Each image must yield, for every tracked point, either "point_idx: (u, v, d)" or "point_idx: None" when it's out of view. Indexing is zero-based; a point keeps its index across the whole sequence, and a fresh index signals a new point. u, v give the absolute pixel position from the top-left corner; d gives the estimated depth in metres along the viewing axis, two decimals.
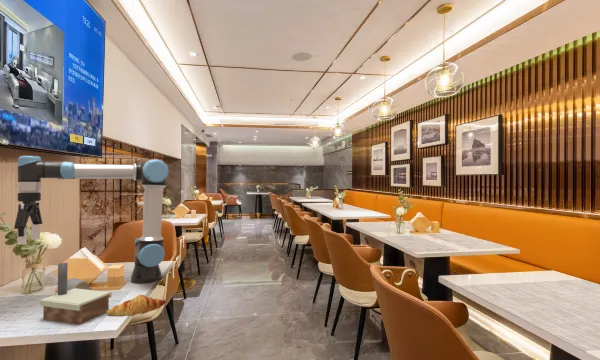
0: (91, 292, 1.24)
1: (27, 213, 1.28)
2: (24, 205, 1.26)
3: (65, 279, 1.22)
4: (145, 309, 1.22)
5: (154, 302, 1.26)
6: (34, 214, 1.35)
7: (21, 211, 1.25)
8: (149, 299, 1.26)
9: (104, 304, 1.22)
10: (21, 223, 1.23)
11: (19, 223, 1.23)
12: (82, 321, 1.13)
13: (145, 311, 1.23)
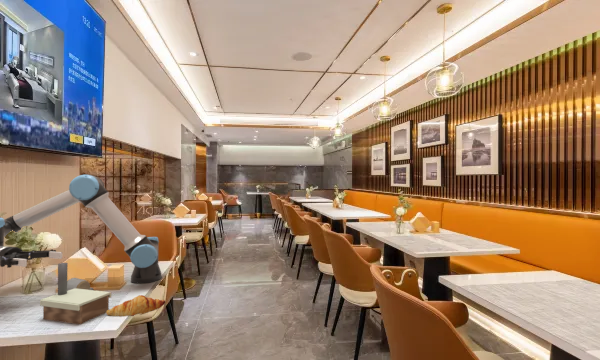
0: (91, 292, 1.24)
1: (10, 257, 1.24)
2: None
3: (65, 279, 1.22)
4: (144, 309, 1.22)
5: (154, 302, 1.25)
6: (33, 254, 1.31)
7: None
8: (149, 299, 1.25)
9: (104, 304, 1.22)
10: (0, 260, 1.18)
11: (0, 262, 1.18)
12: (82, 321, 1.13)
13: (145, 311, 1.22)
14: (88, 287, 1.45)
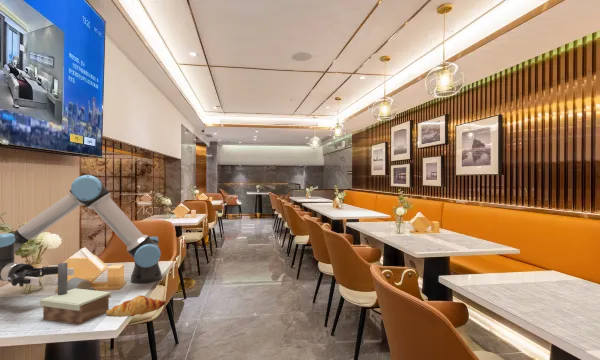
0: (91, 292, 1.24)
1: None
2: (8, 276, 1.20)
3: (65, 279, 1.22)
4: (144, 309, 1.22)
5: (153, 303, 1.25)
6: (44, 270, 1.29)
7: (10, 279, 1.19)
8: (149, 300, 1.25)
9: (104, 304, 1.22)
10: (12, 279, 1.16)
11: (12, 281, 1.16)
12: (82, 321, 1.13)
13: (144, 312, 1.22)
14: (89, 287, 1.45)
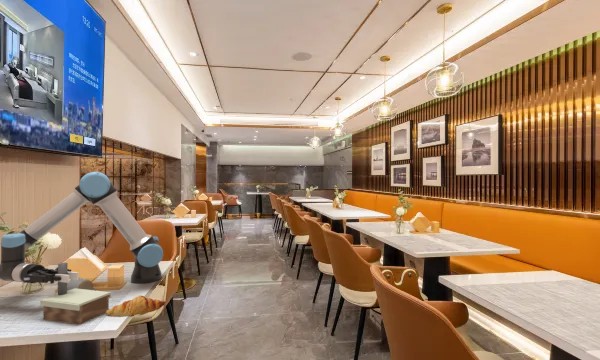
0: (91, 292, 1.24)
1: (41, 274, 1.22)
2: (25, 277, 1.19)
3: None
4: (144, 310, 1.21)
5: (153, 303, 1.25)
6: (52, 272, 1.26)
7: (31, 279, 1.19)
8: (148, 300, 1.25)
9: (104, 304, 1.22)
10: (42, 277, 1.18)
11: (42, 279, 1.18)
12: (82, 321, 1.13)
13: (144, 312, 1.22)
14: (90, 286, 1.46)
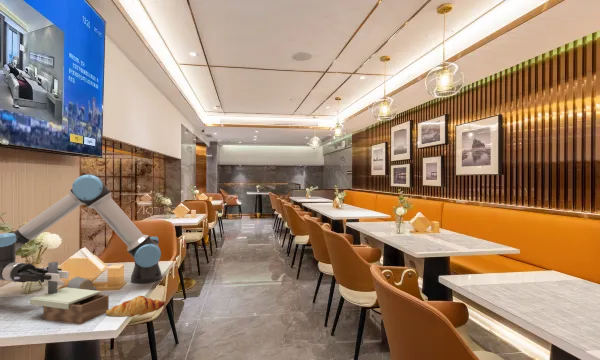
0: (81, 291, 1.25)
1: (31, 273, 1.24)
2: (15, 276, 1.20)
3: None
4: (143, 310, 1.21)
5: (153, 303, 1.24)
6: (42, 271, 1.27)
7: (21, 278, 1.20)
8: (148, 300, 1.24)
9: (104, 304, 1.22)
10: (33, 276, 1.20)
11: (33, 278, 1.20)
12: (82, 321, 1.13)
13: (143, 312, 1.21)
14: (91, 286, 1.46)
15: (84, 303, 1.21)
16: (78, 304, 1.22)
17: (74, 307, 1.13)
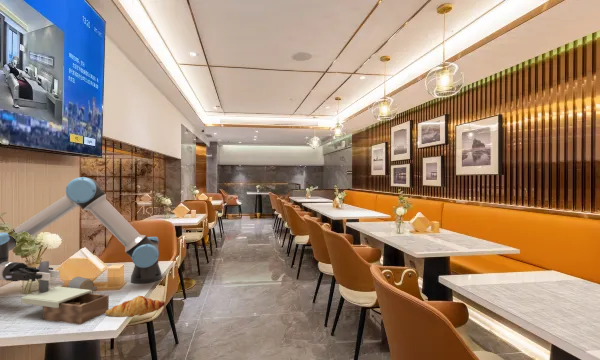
0: (72, 290, 1.27)
1: (23, 272, 1.25)
2: (6, 275, 1.22)
3: None
4: (143, 310, 1.21)
5: (153, 304, 1.24)
6: (34, 270, 1.28)
7: (13, 277, 1.22)
8: (148, 300, 1.24)
9: (104, 304, 1.22)
10: (24, 275, 1.21)
11: (24, 277, 1.21)
12: (82, 321, 1.13)
13: (143, 312, 1.21)
14: (92, 286, 1.47)
15: (84, 303, 1.21)
16: (78, 304, 1.22)
17: (74, 307, 1.13)
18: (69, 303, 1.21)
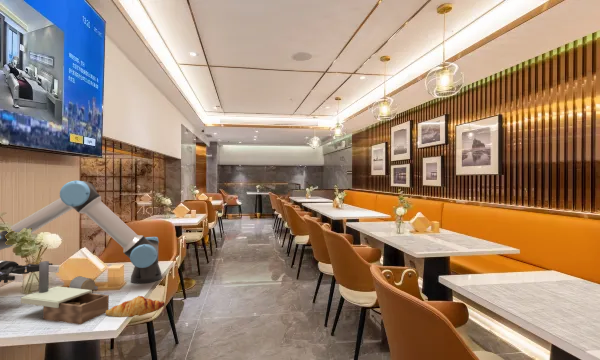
0: (72, 290, 1.27)
1: (7, 272, 1.24)
2: None
3: (46, 277, 1.25)
4: (142, 310, 1.21)
5: (152, 304, 1.24)
6: (29, 267, 1.31)
7: None
8: (148, 301, 1.24)
9: (104, 304, 1.22)
10: None
11: None
12: (82, 321, 1.13)
13: (143, 313, 1.21)
14: (93, 285, 1.47)
15: (84, 303, 1.21)
16: (78, 304, 1.22)
17: (74, 307, 1.13)
18: (69, 303, 1.21)
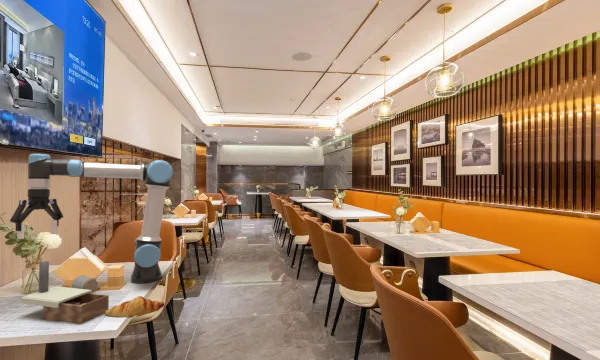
0: (72, 290, 1.27)
1: (29, 209, 1.33)
2: (22, 201, 1.31)
3: (46, 277, 1.25)
4: (141, 311, 1.20)
5: (152, 304, 1.23)
6: (47, 210, 1.40)
7: (19, 207, 1.30)
8: (147, 301, 1.23)
9: (104, 304, 1.22)
10: (14, 218, 1.28)
11: (13, 218, 1.28)
12: (82, 321, 1.13)
13: (142, 313, 1.20)
14: (95, 285, 1.49)
15: (84, 303, 1.21)
16: (78, 304, 1.22)
17: (74, 307, 1.13)
18: (69, 303, 1.21)
